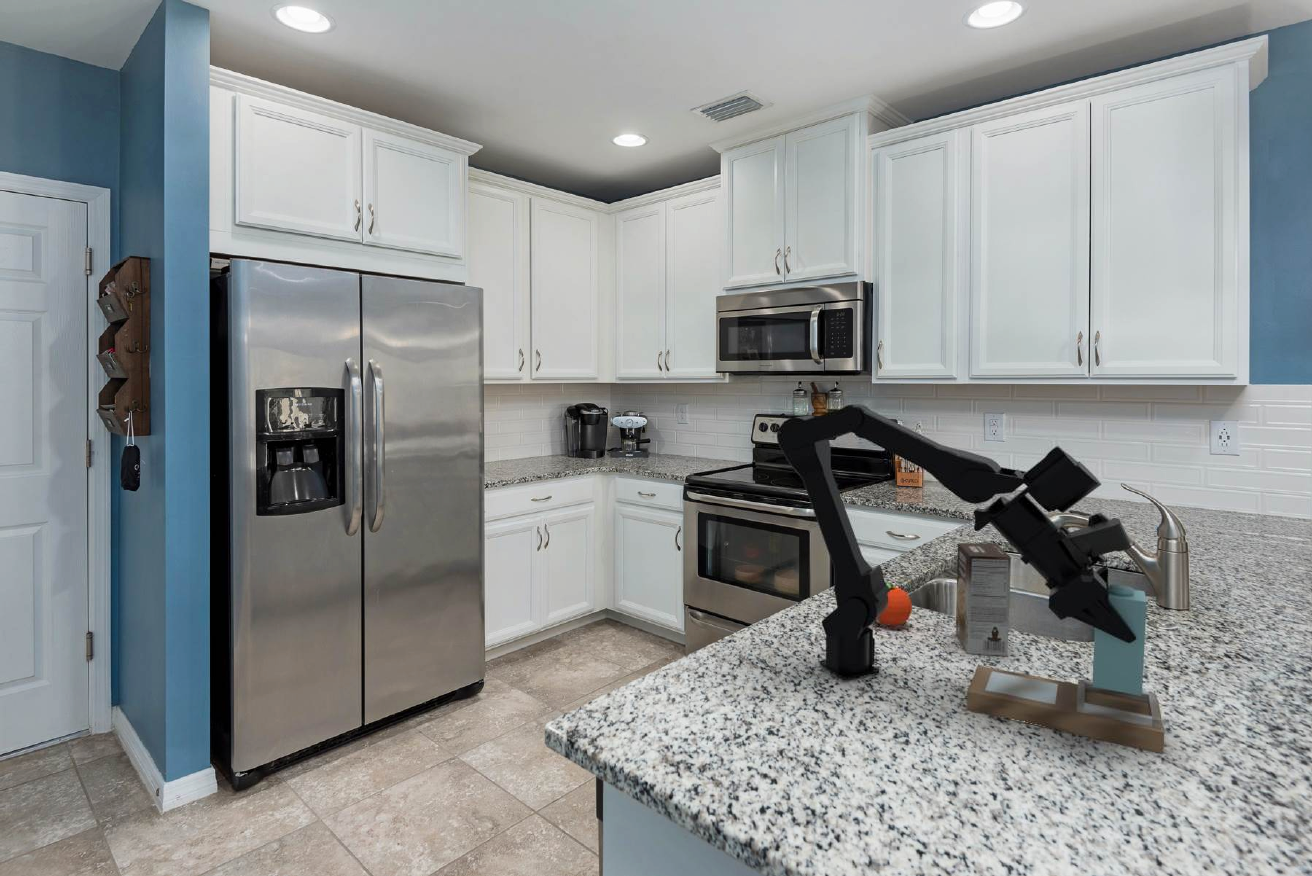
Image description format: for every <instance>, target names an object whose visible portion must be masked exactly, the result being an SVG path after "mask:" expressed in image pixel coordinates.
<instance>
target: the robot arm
mask: <svg viewBox="0 0 1312 876" xmlns="http://www.w3.org/2000/svg"><path fill="white" fill-rule="evenodd" d="M850 433H851V434H852V433H853V434H855V435H857V436H859V437H861V438H863V439H865V440H867V441H868V442H871V443H872V444H874V445H876V446H878V447H879V448H882V449H884V450H885V451H888V452H890V453H892V454H894V455H895V456H898V457H899V458H902V459H903V460H905V461H907V462H909V463H911V464H913V465H915V466H917V467H919V468H921V469H923V470H924V471H926V472H927V473H929V474H930V476H931V477H934V478H935V479H936V480H937V481H938V482H939V483H940V485H942V486H943V487H944V488H945V489H947V490H949V491H950V492H951V493H952V494H954V495H955V496H956V497H957V498H959V499H961V500H962V501H964V502H965V503H969V504H975V505H977V504H982V503H986V502H988V501H990V500H991V499H993V498H994V497H995V496H996V495H1002V494H1011V493H1014V492H1015V491H1016V490H1018V489H1019V488H1020V487H1021V486H1022V485H1025V486H1026V487H1024V488H1023V489H1022V490H1021V491H1020V492H1019V493H1017V494H1016V495H1014V496H1013V497H1012V498H1010V499H1009V498H1006V497H1004V496H1000V497H998V498H997V499H996V500H994V501H993V502H992V503H991V504H989V506H987V507H986V508H979V507H977V508H975V509H974V510H973V515H974V526H973V530H974V531H976V532H979V531H981V530H983V528H985V527H986V526H988V525H989V524H990V525H991V526H992V527H993V528H994V529H995V530H996V531H997V532H998V533H999V534H1000V535H1001V536H1002V537H1003V538H1004V539H1005V540H1006V541H1007V542H1008V543H1009V544H1010V545H1011V547H1012V548H1014V549H1015V551H1016V552H1018V553H1019V554H1020V555H1021V556H1020V559H1019V560H1021V561H1022V562H1023V563H1024V565H1025V566H1026V565H1028V564H1029V565H1030V566H1031V567H1033V569H1034V570H1035V571H1036V572H1037V573H1038V574H1039V575H1040V576H1041V577H1042V578H1043V579H1044V580H1045V582H1044V585H1045V586H1046V587H1047V588H1048V589H1049V590H1050V591H1049V596H1048V609H1050V611H1051V612H1052V613H1053V614H1054V615H1055V616H1056V617H1057V618H1058V619H1059V620H1060V621H1062V620H1064V619H1067V618H1069V619H1070V618H1072V619H1075V620H1077V621H1079V622H1082V623H1084V624H1086V625H1088V626H1091V627H1093V628H1094V629H1095V628H1097V629H1099V630H1101V631H1104V632H1106V633H1108V634H1110V635H1112V636H1114V637H1116V638H1118V639H1120V640H1123V641H1125V642H1127V643H1131V642H1133V641H1135V640H1136V636H1135V635H1134V633H1133V632H1132V630H1131V629H1130V628H1129V626H1128V625H1127V623H1126V622H1125V621H1124V619H1123V618H1122V617H1121V615H1120V614H1119V613H1118V611H1117V610H1116V608H1115V607H1114V606H1113V604H1112V603H1111V602H1110V600H1109V585H1110V582H1109V565H1108V564H1105V565H1104V566H1102V567H1101V568H1099V569H1096V568H1095V567H1094V565H1095V564H1097V563H1098V562H1099V563H1100V564H1103V563H1105V562H1106V554H1110V553H1113V552H1123V551H1126V550H1129V549H1131V548H1132V543H1131V540H1130V538H1129V536H1128V534H1127V532H1126V530H1125V528H1124V526H1123V524H1122V522H1121V520H1120V518H1118V517H1117V518H1116V517H1113V518H1111V519H1110V518H1108V517H1107V516H1106V515H1105V514H1103V512H1097V513H1095V514H1091V515H1089V516H1088V520H1087V526H1083V527H1082V526H1081V527H1080V529H1077V530H1073V531H1070V530H1068V528H1067V527H1066V526H1064V525H1060V524H1058V525H1056V524H1055V522H1054V521H1052V520H1051V519H1050V518H1049V517H1048V516H1047V515H1046V514H1045V512H1044V511H1042V510H1041V509H1040V508H1039V506H1041V508H1043V509H1044V510H1045V511H1046V512H1048V513H1051V512H1055V511H1056V510H1058V511H1059V512H1060V513H1062V514H1065V513H1066V512H1067V511H1068V510H1070V509H1071V508H1073V507H1074V506H1075V505H1076V504H1078V503H1079V502H1081V501H1082V500H1083V499H1085V497H1087V496H1088V495H1090V494H1091V493H1093V491H1095V490H1097V489H1098V488H1099V487H1100V486H1102V482H1101V481H1100V480H1099V479H1098V478H1097V477H1096V476H1095V475H1094V473H1092V472H1091V471H1090V470H1089V469H1088V468H1087V467H1086V466H1085V465H1084V464H1083V463H1082V462H1081V461H1077V460H1076V459H1075V458H1074V457H1073V456H1072V455H1070V454H1069V453H1067V452H1066V451H1065V450H1064V449H1063V448H1061V447H1060V446H1059V445H1057V446H1055V447H1053V448H1052V449H1051V450H1049V452H1047V454H1046V455H1045V456H1044V457H1043V458H1042V459H1041V460H1039V461H1038V462H1037V463H1036V464H1034V465H1033V466H1032V467H1031V468H1029V470H1027V471H1023V470H1020V469H1015V468H1014V469H1013V468H1007V467H1002V466H1001V465H1000V464H998V463H999V462H998V463H997V461H995V460H994V459H992V458H989V457H986V456H983V455H980V454H977V453H974V452H971V451H967V450H962V449H960V448H959V449H958V448H955V447H954V448H953V447H950V446H946V445H943V444H942V443H941V444H940V443H938V442H937V441H934V440H932V439H930V438H928V437H926V436H924V435H922V434H920V433H918V432H915V431H914V430H911V429H909V428H908V427H906V426H904V425H902V424H900V423H897V422H896V421H893V420H891V419H890V418H887V417H886V416H883V415H881V414H879V413H877V412H875V411H874V410H871V409H870V408H869V407H868V406H867V405H865V404H861V403H857V404H856V403H855V404H854V403H853V404H847V405H845V406H843V407H842V408H840V409H837V410H834V411H831V412H827V413H824V414H820V415H816V416H813V415H812V416H811V415H806V416H797V417H791V418H788V419H787V420H786V419H785V421H783V422H782V424H780V427H779V429H778V431H777V433H776V441H777V445H778V446H779V448H780V449H781V451H782V453H783V455H784V457H785V459H786V460H787V462H788V464H789V465H790V466H791V467H792V468H793V470H794V471H795V472H796V473H797V474H798V476H800V479H802V482H803V485H804V488H805V490H806V494H807V496H808V499H809V501H810V505H811V508H812V509H813V513H814V515H815V519H816V522H817V524H818V527H819V530H820V533H821V535H822V536H821V537H822V538H823V540H824V541H823V542H824V543H825V547H826V548H827V552H828V555H829V558H830V561H831V564H832V566H833V572H834V573H833V575H834V576H833V580H834V581H833V585H834V587H833V589H834V597H835V603H836V608H835V609H834V610H833V611H831V612H829V614H828V615H827V616H826V617H824V618H823V619H822V620H821V624H822V628H823V631H824V633H825V659H822V660H819V665H820V666H821V667H823V668H824V669H826V670H828V671H829V672H831V673H833V674H834V675H836V676H837V677H839V678H840V679H842V680H852V679H857V678H862V677H867V676H873V675H878V674H880V669H879V668H877V667H876V666H874V665H875V656H876V653H875V648H876V646H875V643H876V639H875V637H874V629H873V628H871V627H870V626H872V624H874V622H876V620H878V619H877V618H878V617H879V616H880V615H881V614H882V613H883V612H884V611H885V609H886V607H887V604H888V593H889V592H890V591H891V590H890V588H889V587H888V586H887V585H888V584H887V583H886V581H885V578H884V571H883V568H882V565H877V566H874V567H872V566H871V565H870V564H869V563H868V562H867V561H866V559H865V558H864V556H863V554H862V551H861V548H860V545H859V543H858V540H857V538H856V535H855V531H854V529H853V526H852V523H851V521H850V518H849V515H848V512H847V510H846V507H845V504H844V502H843V499H842V496H841V493H840V491H839V488H838V485H837V483H836V480H835V477H834V474H833V472H832V467H831V465H832V463H831V461H832V460H831V453H832V452H831V451H832V449H831V443H830V440H832V439H837V438H839V437H842V436H845V435H847V434H848V435H849V434H850ZM1027 494H1029V495H1030V496H1031V498H1032V499H1033V500H1034V501H1035V502H1036V503H1038V505H1039V506H1037V505H1036V504H1035V503H1034V502H1033V501H1032V499H1030V498H1029V497H1028V496H1027Z"/></svg>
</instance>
